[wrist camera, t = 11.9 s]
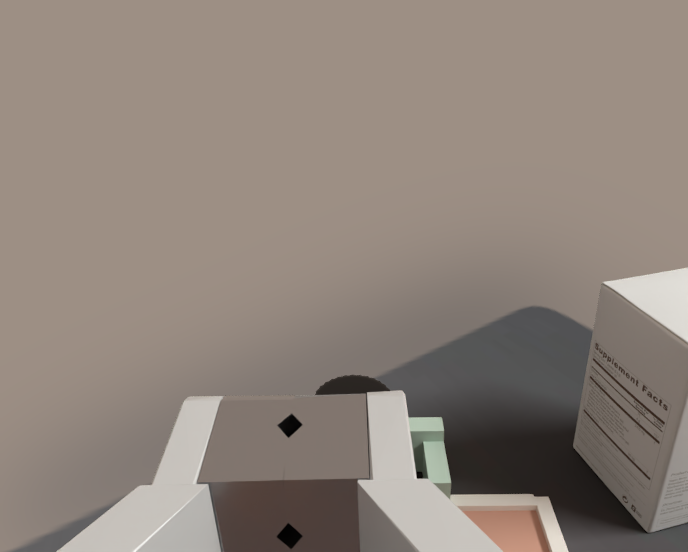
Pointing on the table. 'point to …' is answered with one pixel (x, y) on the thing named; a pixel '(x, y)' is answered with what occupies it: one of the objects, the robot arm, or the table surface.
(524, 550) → the trap lane
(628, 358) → the supplement box
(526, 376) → the table surface
